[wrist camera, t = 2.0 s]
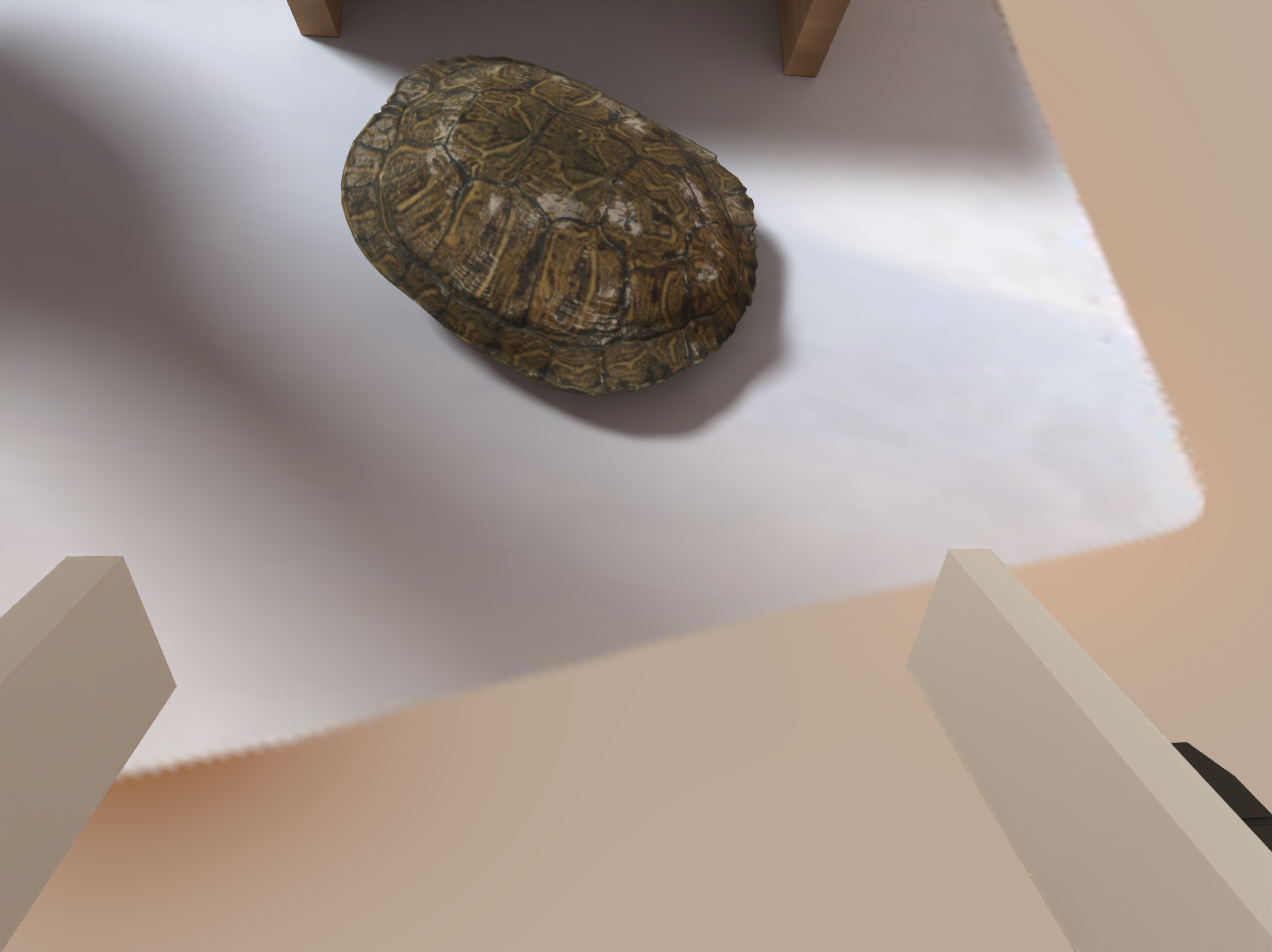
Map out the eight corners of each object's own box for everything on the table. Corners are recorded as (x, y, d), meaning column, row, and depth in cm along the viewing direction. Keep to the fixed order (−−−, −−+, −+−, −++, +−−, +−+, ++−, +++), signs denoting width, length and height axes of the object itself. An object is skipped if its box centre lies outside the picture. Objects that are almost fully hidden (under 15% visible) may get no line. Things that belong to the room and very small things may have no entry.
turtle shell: (710, 435, 27) (247, 177, 24) (649, 469, 36) (301, 283, 33) (840, 146, 32) (461, -109, 28) (757, 238, 40) (459, 51, 37)
